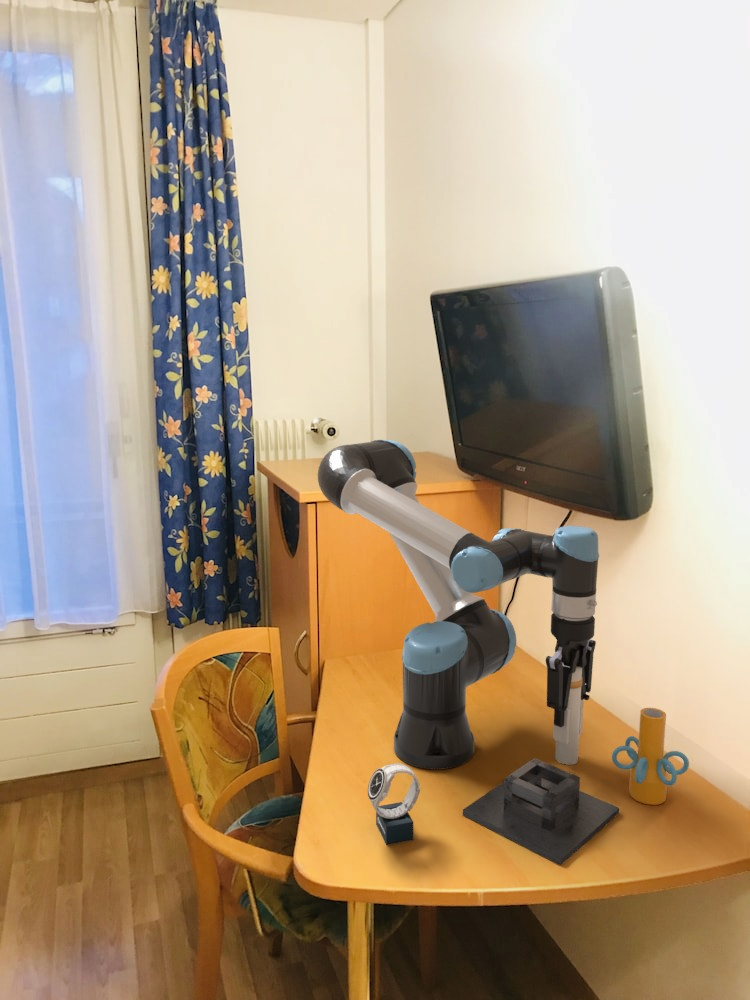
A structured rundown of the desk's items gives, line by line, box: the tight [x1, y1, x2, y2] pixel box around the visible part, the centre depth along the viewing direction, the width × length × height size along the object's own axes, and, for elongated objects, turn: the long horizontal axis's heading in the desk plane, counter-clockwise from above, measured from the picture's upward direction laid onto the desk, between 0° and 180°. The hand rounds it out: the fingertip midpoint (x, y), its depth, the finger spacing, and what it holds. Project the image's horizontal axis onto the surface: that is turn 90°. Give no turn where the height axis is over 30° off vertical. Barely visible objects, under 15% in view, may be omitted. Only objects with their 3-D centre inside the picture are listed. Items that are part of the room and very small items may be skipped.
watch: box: [367, 763, 421, 846], centre depth 120 cm, size 6×8×11 cm
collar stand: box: [462, 757, 620, 866], centre depth 125 cm, size 18×18×6 cm
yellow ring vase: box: [611, 707, 690, 806], centre depth 129 cm, size 12×10×15 cm
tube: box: [554, 665, 583, 766], centre depth 141 cm, size 4×4×18 cm
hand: (567, 735), depth 141 cm, fingers closed on tube, 4 cm apart
